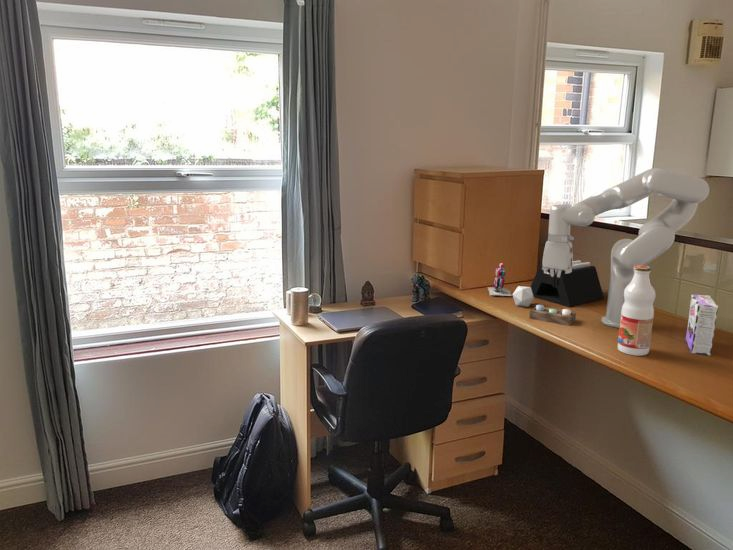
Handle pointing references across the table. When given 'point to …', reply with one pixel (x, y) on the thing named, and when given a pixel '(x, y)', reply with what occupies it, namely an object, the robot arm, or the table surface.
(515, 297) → the die
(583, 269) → the device stand
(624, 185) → the robot arm
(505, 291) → the statue
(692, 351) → the candy box
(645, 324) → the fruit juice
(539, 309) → the slate blue button
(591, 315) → the table surface
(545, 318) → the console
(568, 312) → the cream button
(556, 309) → the sage button
